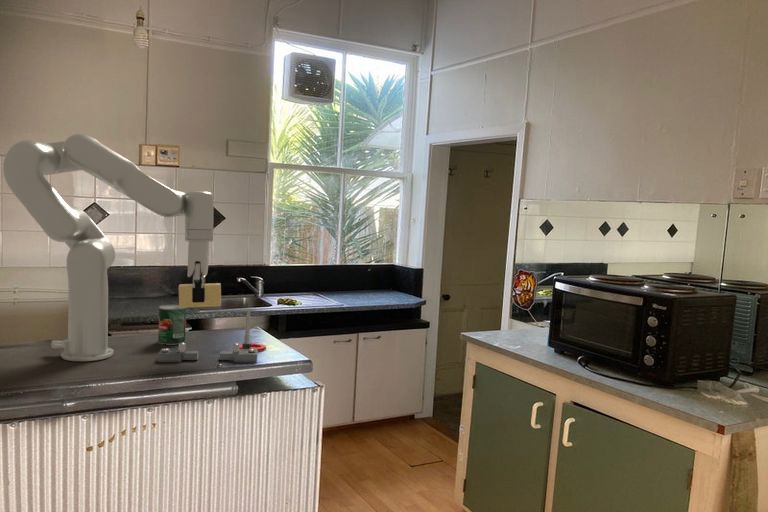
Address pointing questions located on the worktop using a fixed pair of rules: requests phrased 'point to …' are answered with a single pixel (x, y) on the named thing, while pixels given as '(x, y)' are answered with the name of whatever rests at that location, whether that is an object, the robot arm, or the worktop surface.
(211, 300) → the tan cork brick
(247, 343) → the tow hook
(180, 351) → the grey plate with studs
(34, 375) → the worktop surface
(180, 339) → the canned tomato
